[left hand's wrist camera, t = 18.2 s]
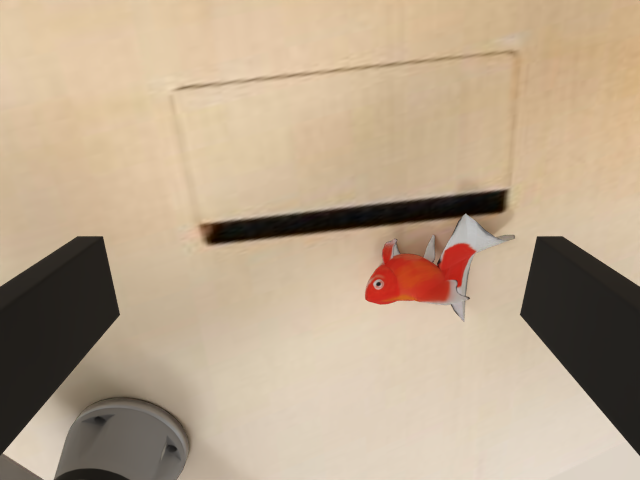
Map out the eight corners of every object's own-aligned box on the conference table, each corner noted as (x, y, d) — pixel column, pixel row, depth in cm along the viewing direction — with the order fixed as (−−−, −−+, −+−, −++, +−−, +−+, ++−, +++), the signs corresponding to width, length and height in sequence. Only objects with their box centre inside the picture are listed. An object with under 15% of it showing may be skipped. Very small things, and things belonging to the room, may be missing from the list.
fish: (356, 200, 36) (419, 276, 30) (484, 177, 42) (561, 235, 36) (339, 282, 43) (388, 357, 37) (451, 252, 49) (511, 312, 43)
